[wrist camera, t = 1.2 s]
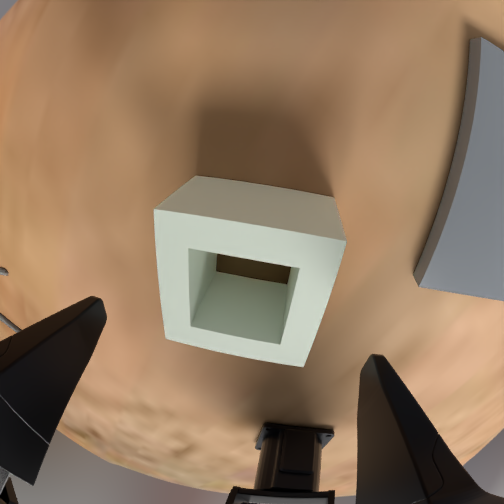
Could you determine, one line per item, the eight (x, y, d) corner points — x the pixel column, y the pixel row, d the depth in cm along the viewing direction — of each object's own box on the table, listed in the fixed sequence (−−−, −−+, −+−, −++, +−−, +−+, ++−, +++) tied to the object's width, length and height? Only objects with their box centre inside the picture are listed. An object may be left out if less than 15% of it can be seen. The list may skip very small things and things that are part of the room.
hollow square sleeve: (305, 306, 15) (303, 367, 11) (193, 285, 15) (165, 338, 12) (334, 197, 12) (347, 241, 8) (195, 175, 12) (153, 208, 9)
